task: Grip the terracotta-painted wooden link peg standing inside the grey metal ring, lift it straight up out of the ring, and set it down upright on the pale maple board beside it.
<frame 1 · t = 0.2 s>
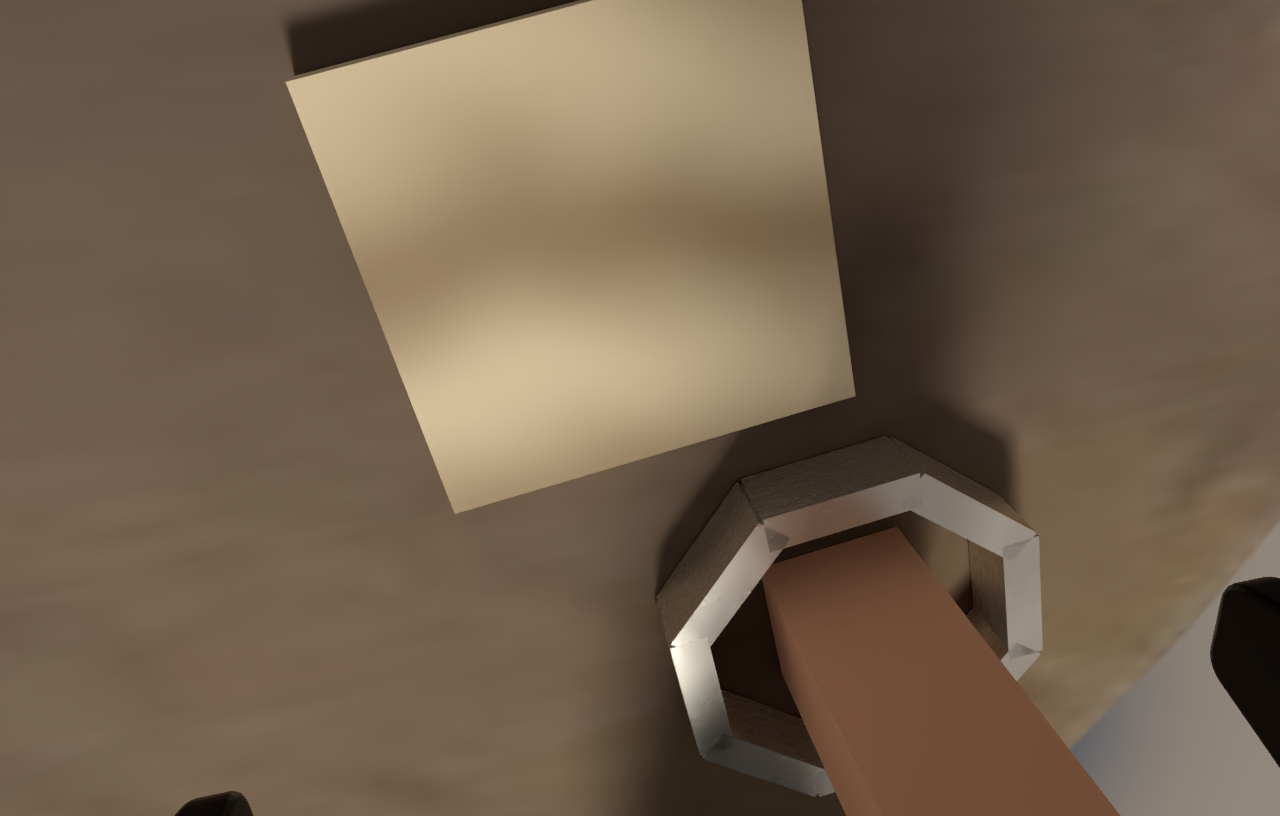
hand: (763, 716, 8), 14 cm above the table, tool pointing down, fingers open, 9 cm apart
maple board: (600, 246, 21), on the table
metal ring: (837, 603, 27), on the table
link peg: (913, 731, 22), in the metal ring
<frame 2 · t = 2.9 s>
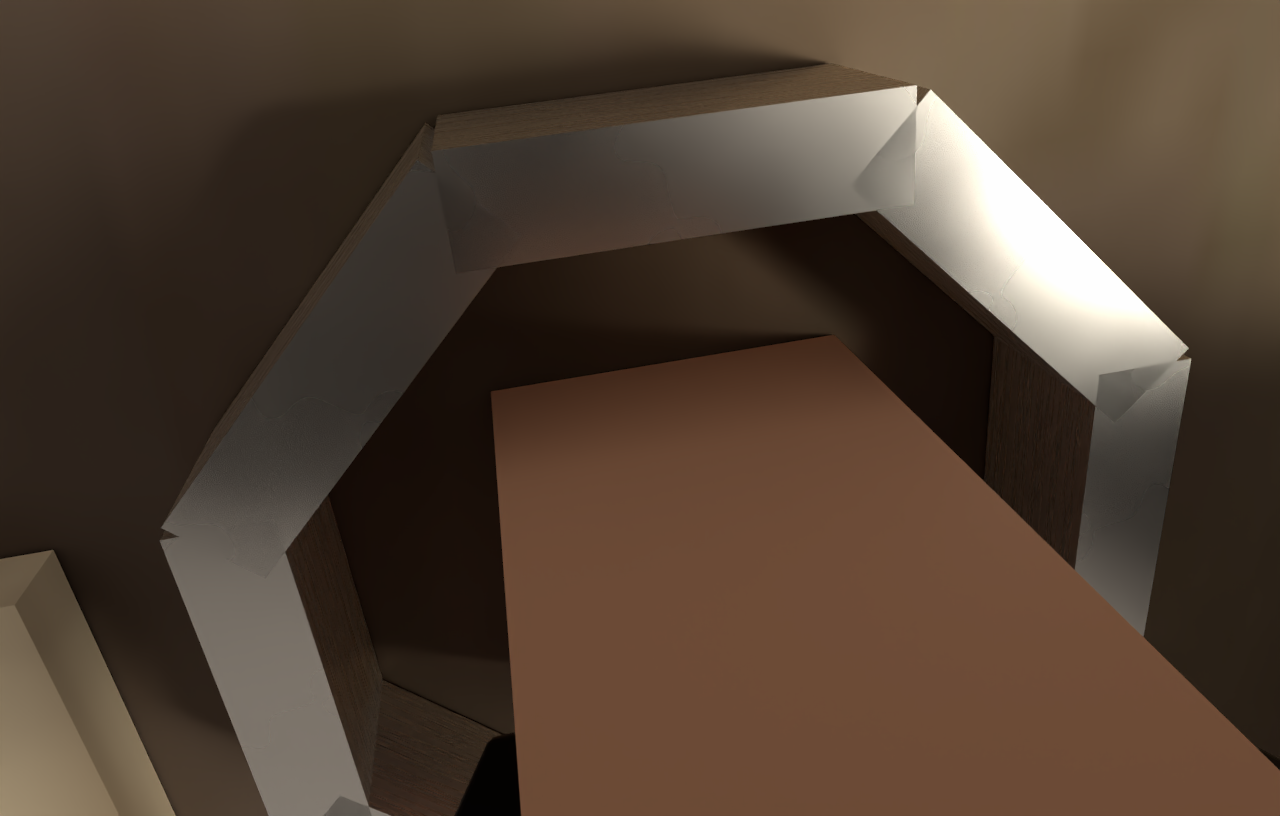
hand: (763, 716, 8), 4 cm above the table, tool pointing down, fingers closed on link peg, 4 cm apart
metal ring: (680, 512, 11), on the table
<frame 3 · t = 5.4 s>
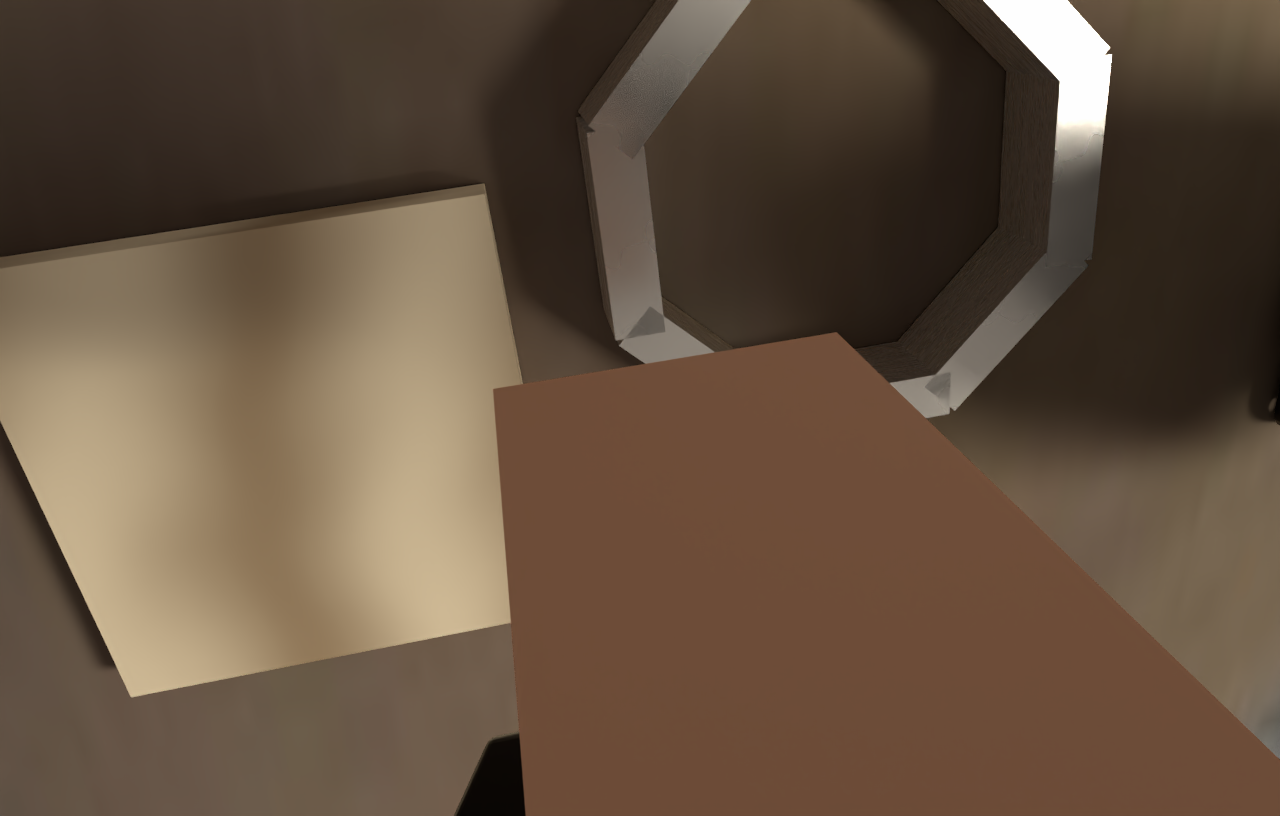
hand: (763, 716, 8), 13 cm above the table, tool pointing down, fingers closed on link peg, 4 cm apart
maple board: (300, 446, 20), on the table
metal ring: (823, 180, 20), on the table
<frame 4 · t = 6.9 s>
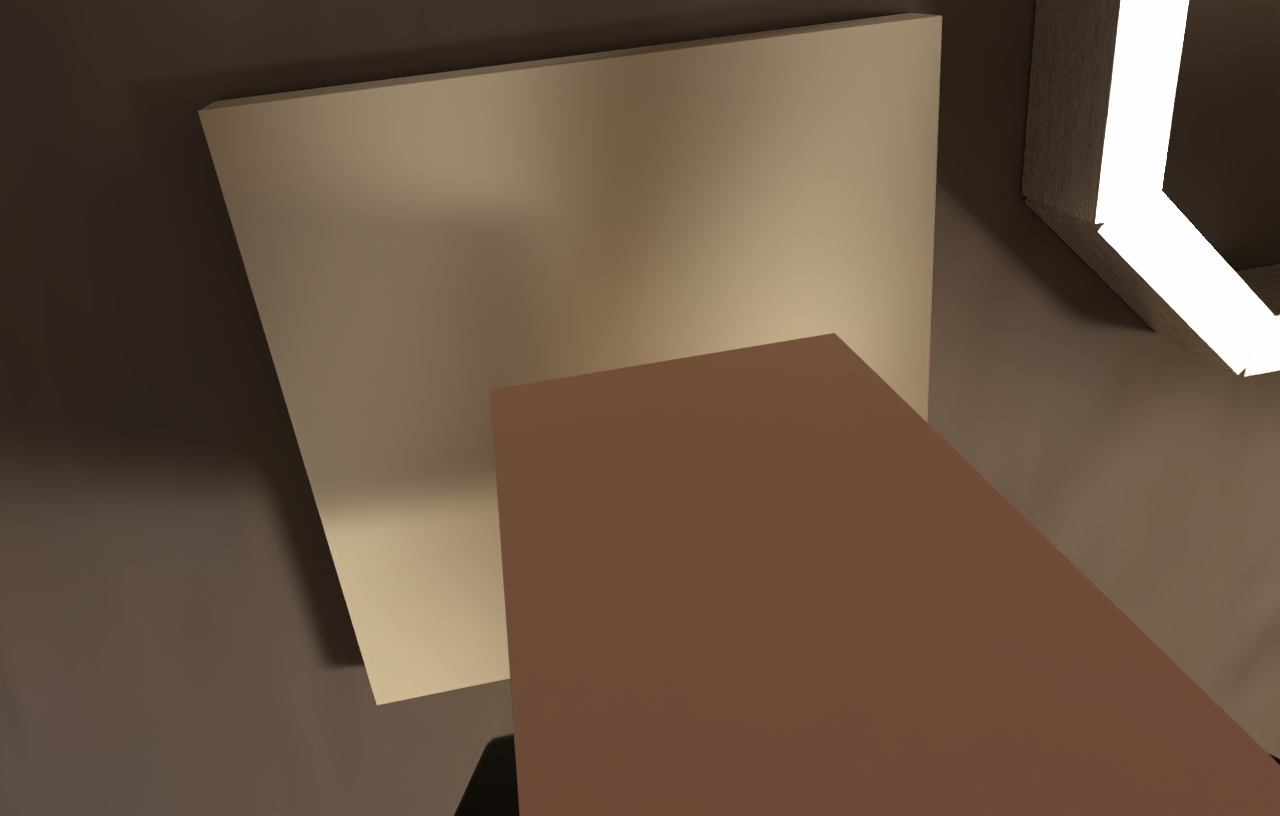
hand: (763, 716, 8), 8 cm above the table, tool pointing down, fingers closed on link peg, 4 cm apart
maple board: (618, 374, 15), on the table
when the fingers open (6 cm above the table, at t = 8.1 s): link peg drops 1 cm, resting on maple board.
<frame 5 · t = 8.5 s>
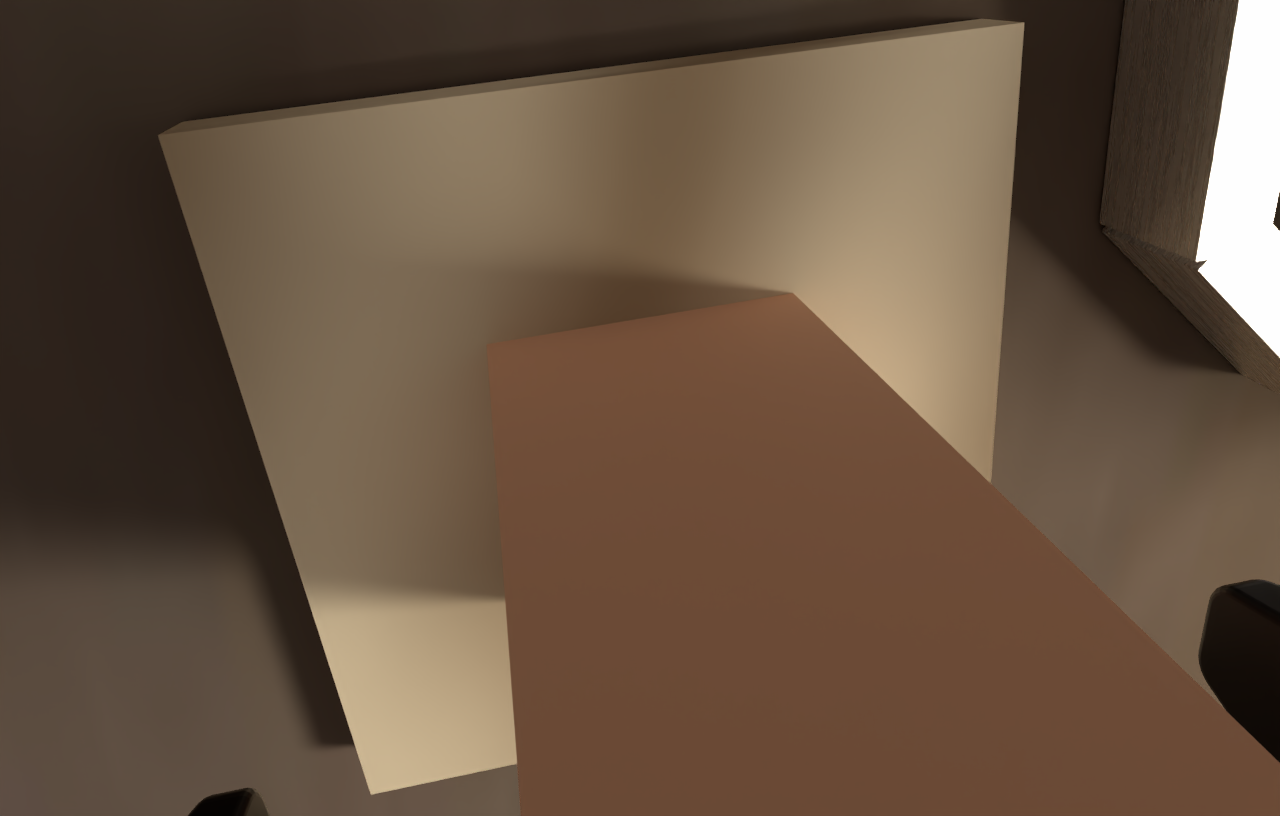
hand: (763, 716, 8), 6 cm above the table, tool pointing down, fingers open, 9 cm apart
maple board: (643, 426, 14), on the table
link peg: (765, 713, 8), on the maple board, point 6 cm above the table
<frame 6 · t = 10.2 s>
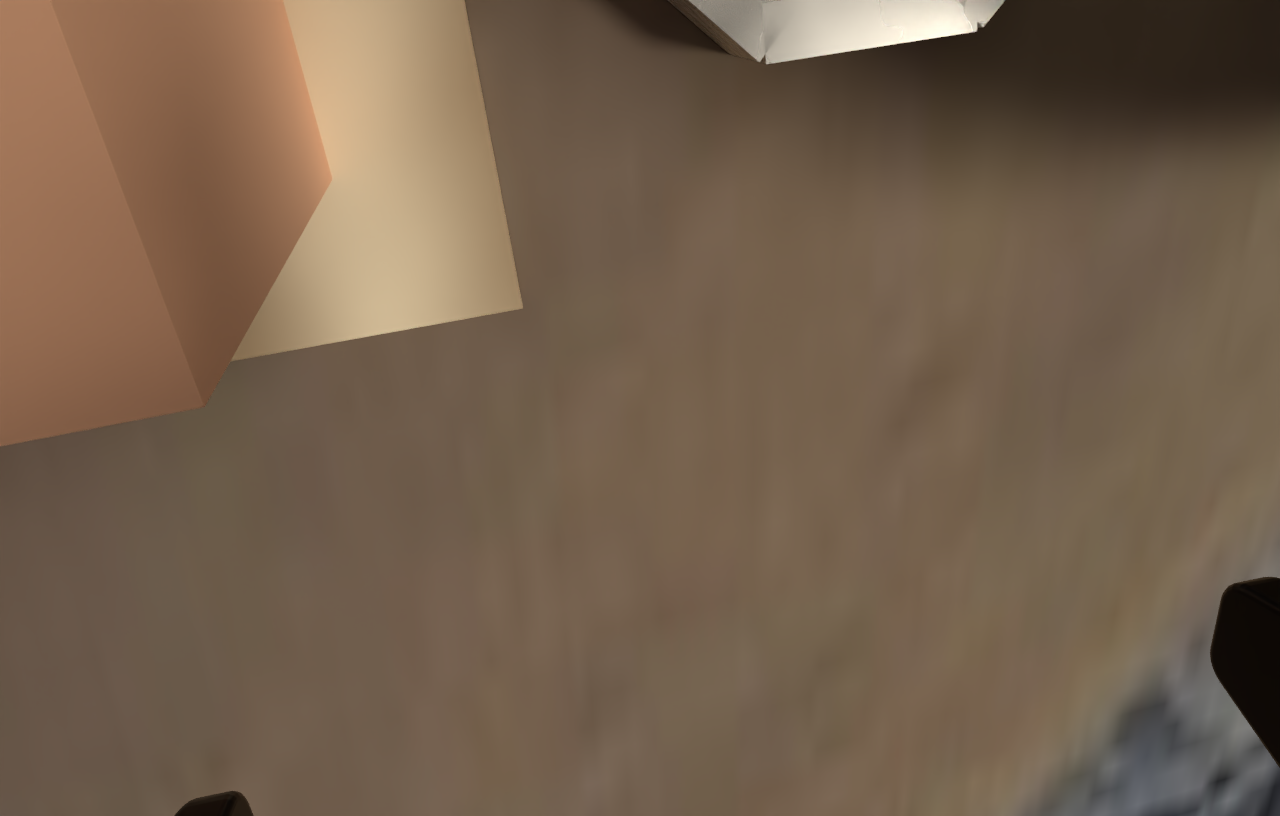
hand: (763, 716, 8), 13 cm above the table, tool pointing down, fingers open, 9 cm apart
maple board: (193, 79, 17), on the table
link peg: (76, 124, 11), on the maple board, point 6 cm above the table
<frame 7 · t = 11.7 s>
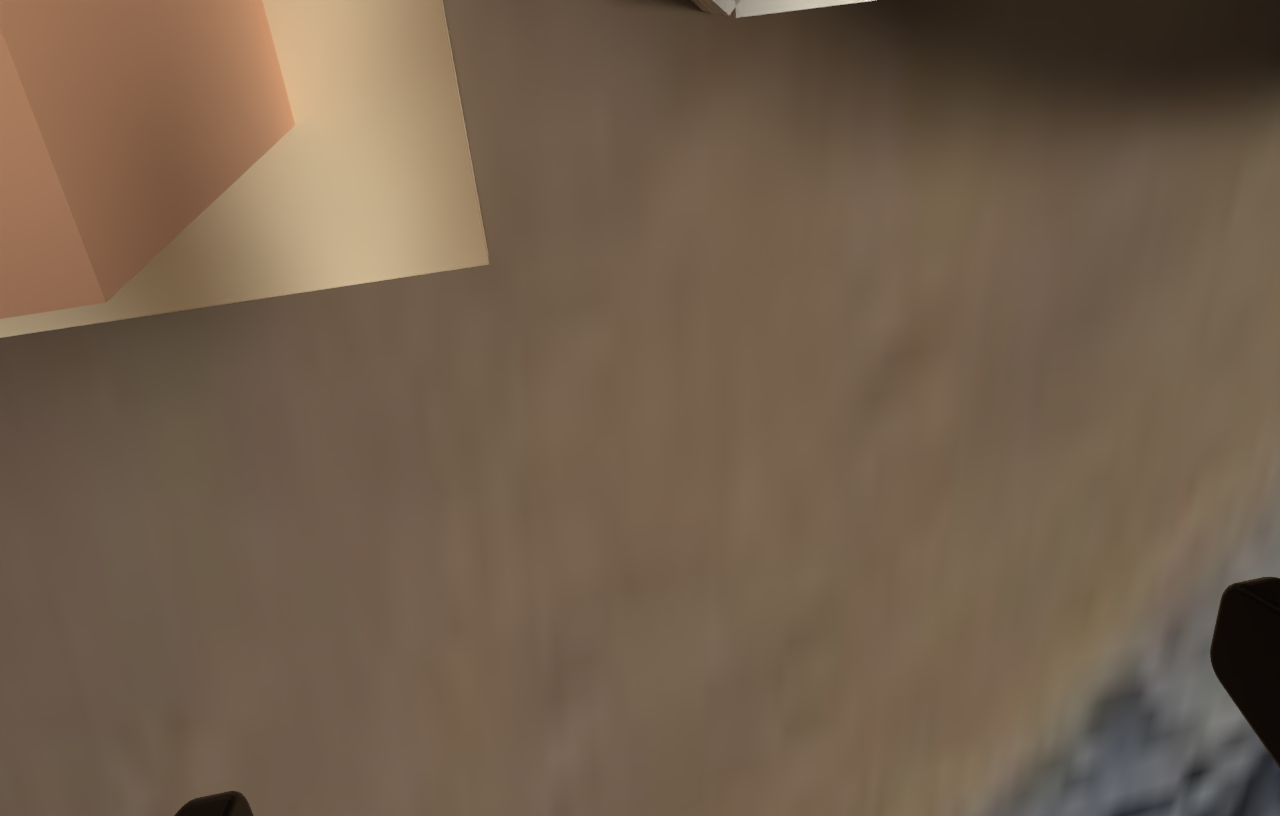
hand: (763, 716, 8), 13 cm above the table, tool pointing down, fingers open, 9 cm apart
maple board: (157, 20, 17), on the table
link peg: (13, 39, 11), on the maple board, point 6 cm above the table
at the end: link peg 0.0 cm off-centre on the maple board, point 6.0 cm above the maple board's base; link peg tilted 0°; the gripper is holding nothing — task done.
